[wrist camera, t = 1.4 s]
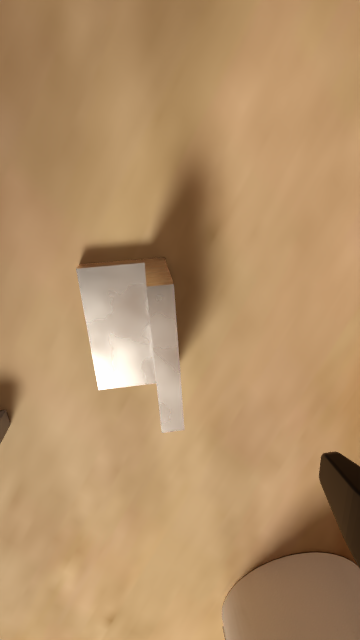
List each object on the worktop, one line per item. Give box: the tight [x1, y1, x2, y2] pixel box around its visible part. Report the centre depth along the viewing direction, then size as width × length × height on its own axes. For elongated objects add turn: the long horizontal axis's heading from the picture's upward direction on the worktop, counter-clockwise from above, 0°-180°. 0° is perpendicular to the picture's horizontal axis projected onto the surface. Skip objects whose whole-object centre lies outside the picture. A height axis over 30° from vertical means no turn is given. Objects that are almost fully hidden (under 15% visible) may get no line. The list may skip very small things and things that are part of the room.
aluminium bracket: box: [76, 257, 184, 433], centre depth 19 cm, size 8×5×6 cm, turn 4°
